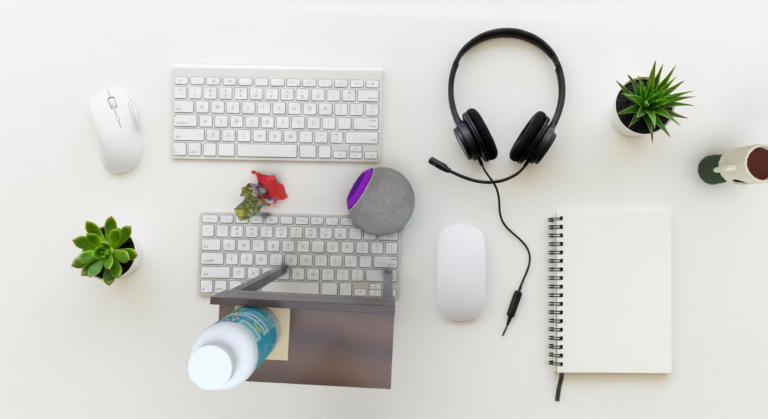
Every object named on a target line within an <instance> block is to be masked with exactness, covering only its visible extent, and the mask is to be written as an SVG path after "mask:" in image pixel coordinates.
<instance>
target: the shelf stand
mask: <svg viewBox="0 0 768 419" xmlns="http://www.w3.org/2000/svg"><path fill="white" fill-rule="evenodd" d="M286 274H288V265H287V264H279V265H277V266H275V267H273V268H271V269H269V270H266V271H264V272H263V273H261V274H259V275H257V276H254V277H253V278H251V279H249V280H247V281H245V282H243V283H241V284H239V285H236V286H235V287H232V288H230V289H229V290H246V291H260V290H261V289H262V288H264V287H266V286H268V285H269V284H270V283H272V282H274V281H276V280H277V279H279V278H281V277H282V276H284V275H286ZM393 282H394V281H393V270H387V269H386V270H385V269H384V272H383V284H382V292H381V293H382V294H381V298H394V283H393Z"/></svg>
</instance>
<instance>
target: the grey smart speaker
mask: <svg viewBox="0 0 768 419" xmlns="http://www.w3.org/2000/svg"><path fill="white" fill-rule="evenodd" d="M347 194H348V195H347V197H346V208H347V211H348V214H349V216H350V218H351V221H353V223H354V224H355V225H356V226H357V227H358V228H359V229H361V230H362V231H364V232H366V233H368V234H371V235H375V236H385V235H390V234H395V233H396V232H398V231H400V230H401V229H403V228H404V227H405V226H406V225H407V224H408V223H409V221H410V219H412V216H413V213H414V211H415V207H416V198H415V197H416V196H415V191H414V189H413V187H412V185H411V182H410V181H409V180H408V179H407V177H406V176H405V175H404V174H402V173H401V172H399V171H398V170H396V169H393V168H390V167H385V166H377V167H369V168H368V169H366V170H364V171H362V173H360V175H359V176H358V177H357V179H356V180H355V182H354V183H353V184H352V187H351V188H350V190H349V193H347Z"/></svg>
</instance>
